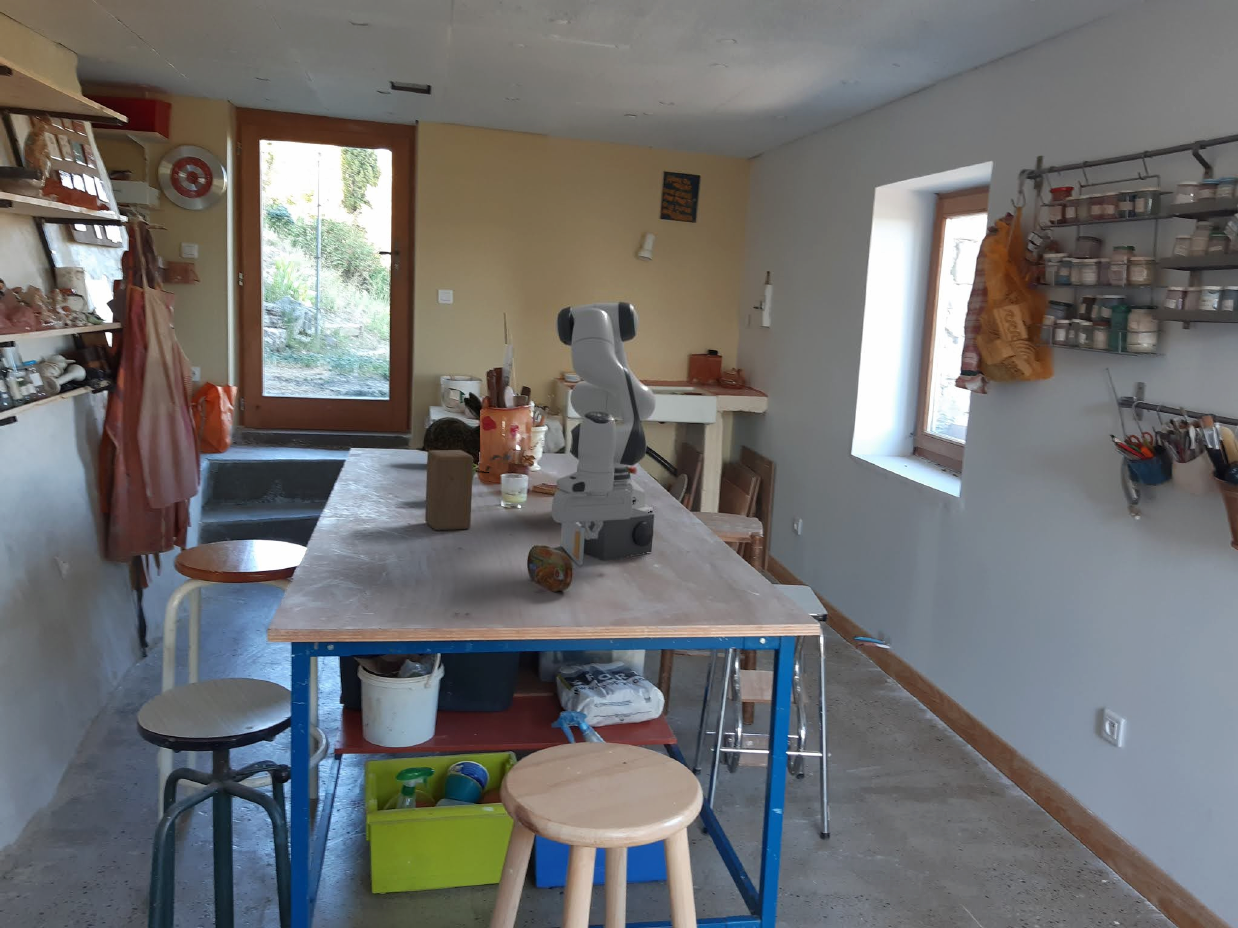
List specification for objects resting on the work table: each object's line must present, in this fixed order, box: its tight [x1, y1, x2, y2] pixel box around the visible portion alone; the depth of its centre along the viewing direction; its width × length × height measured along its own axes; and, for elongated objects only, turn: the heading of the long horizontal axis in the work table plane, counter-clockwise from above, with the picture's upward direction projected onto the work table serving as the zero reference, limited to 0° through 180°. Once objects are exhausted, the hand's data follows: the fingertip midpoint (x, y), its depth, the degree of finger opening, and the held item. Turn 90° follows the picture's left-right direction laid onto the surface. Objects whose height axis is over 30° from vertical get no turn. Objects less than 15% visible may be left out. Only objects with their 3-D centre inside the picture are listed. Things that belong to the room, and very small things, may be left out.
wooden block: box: [424, 450, 474, 532], centre depth 252 cm, size 10×10×20 cm
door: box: [560, 522, 585, 566], centre depth 231 cm, size 2×18×9 cm, turn 17°
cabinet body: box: [579, 508, 655, 561], centre depth 240 cm, size 16×17×10 cm
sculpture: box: [416, 391, 483, 466], centre depth 337 cm, size 19×29×27 cm, turn 57°
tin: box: [526, 544, 574, 593], centre depth 207 cm, size 15×3×8 cm, turn 36°
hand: (591, 538), depth 225 cm, fingers closed
